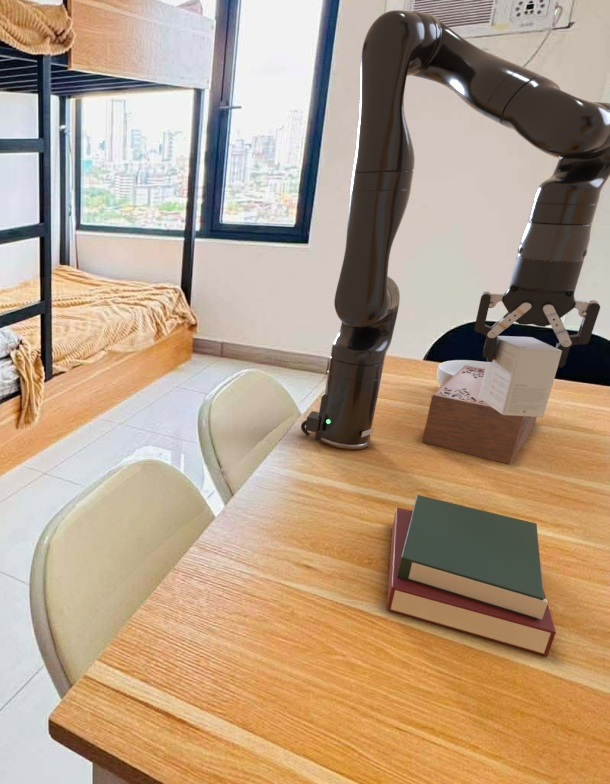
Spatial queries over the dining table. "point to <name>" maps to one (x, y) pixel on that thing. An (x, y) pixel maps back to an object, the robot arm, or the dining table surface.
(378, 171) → the robot arm
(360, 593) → the dining table surface
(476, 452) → the tissue box cover
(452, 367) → the cereal bowl
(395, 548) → the books
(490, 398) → the small box
